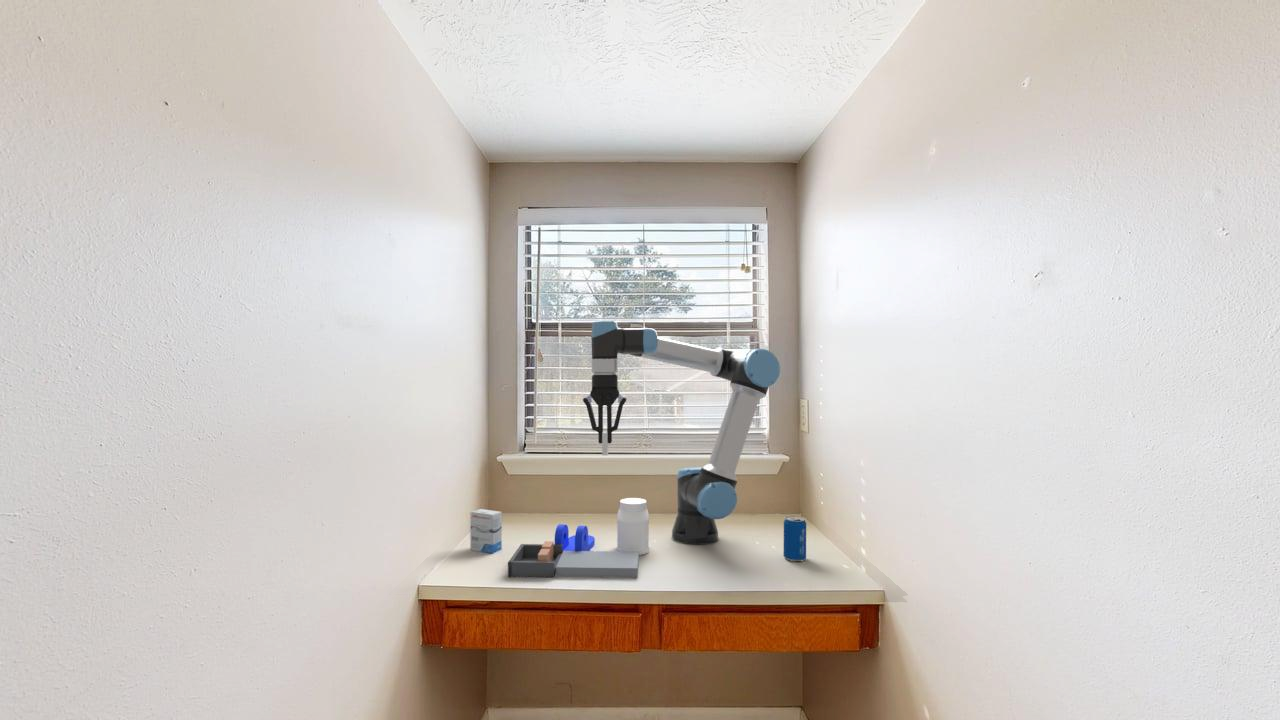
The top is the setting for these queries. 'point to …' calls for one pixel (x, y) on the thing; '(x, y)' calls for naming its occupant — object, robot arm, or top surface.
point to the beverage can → (794, 538)
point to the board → (598, 564)
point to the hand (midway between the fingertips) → (605, 454)
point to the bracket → (574, 538)
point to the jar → (633, 526)
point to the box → (533, 562)
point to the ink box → (486, 531)
